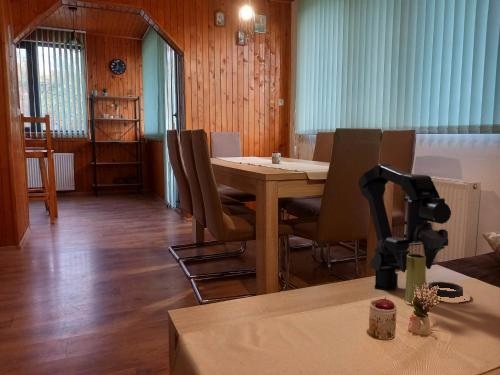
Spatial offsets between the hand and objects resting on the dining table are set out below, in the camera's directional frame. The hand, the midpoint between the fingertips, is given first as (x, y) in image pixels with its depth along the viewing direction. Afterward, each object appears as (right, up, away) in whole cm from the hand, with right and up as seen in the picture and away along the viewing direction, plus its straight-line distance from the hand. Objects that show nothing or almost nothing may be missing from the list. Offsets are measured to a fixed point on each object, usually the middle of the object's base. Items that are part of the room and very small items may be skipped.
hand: (416, 270), depth 121 cm
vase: (0, -10, +1) cm, 10 cm away
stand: (+12, -9, +7) cm, 17 cm away
